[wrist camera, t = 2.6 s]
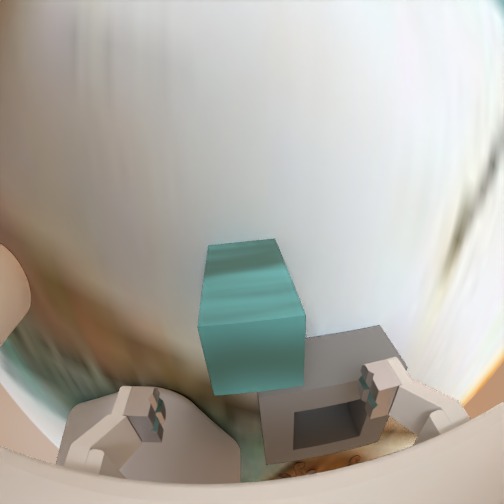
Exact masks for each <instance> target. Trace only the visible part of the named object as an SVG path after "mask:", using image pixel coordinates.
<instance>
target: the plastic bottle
mask: <svg viewBox="0 0 504 504" xmlns="http://www.w3.org/2000/svg"><path fill="white" fill-rule="evenodd" d="M138 387H153V386H138ZM157 388H158V390H159V392H160V396H159V398H160V399H162V400H163V402H164V404H165V408H166V419H165V422H164V423H163V424H162V427H163V429H164V432H163V438H162V443H158V442H142V444H141V445H140V447H139V448H138V449H137V450H136V451H135V452H134V454H133V455H132V456H131V457H130V458H129V459H128V460H127V462H126V463H125V464H124V465H123V466H122V467H121V468H120V470H119V471H120V472H121V473H122V474H123V475H124V476H125V477H126V479H131V480H139V481H149V482H161V483H179V484H227V483H241V450H240V448H239V445H238V444H237V442H236V441H235V440H234V439H233V438H232V437H230V436H229V435H228V434H227V433H226V432H224V431H223V430H222V429H221V428H220V427H219V426H218V425H216V424H215V423H214V422H213V421H212V420H211V419H210V418H208V417H207V416H206V415H205V414H204V413H203V412H202V411H201V410H200V409H199V408H198V407H196V406H195V405H194V404H193V403H192V402H191V401H190V400H188V399H187V398H185V397H184V396H182V395H180V394H178V393H176V392H173V391H171V390H168V389H164V388H160V387H157ZM117 395H118V392H117V393H113V394H110V395H107V396H103V397H100V398H97V399H93V400H90V401H86V402H83V403H80V404H77V405H76V406H75V407H73V409H72V410H71V411H70V413H69V416H68V420H67V423H66V427H65V430H64V434H63V437H62V441H61V445H60V449H59V453H58V457H57V461H56V465H59V466H64V463H65V460H66V458H67V455H68V452H69V449H70V446H71V444H72V443H73V442H74V441H76V440H77V439H78V438H79V437H81V436H82V435H83V434H85V433H86V432H87V431H88V430H89V429H91V428H92V427H93V426H94V425H96V424H97V423H98V422H99V421H101V420H102V419H103V418H104V417H106V416H107V415H111V413H112V410H113V407H114V404H115V401H116V398H117Z"/></svg>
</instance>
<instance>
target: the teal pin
mask: <svg viewBox="0 0 504 504" xmlns="http://www.w3.org/2000/svg"><path fill="white" fill-rule="evenodd" d="M305 327H306V314H305V312H304V309H303V307H302V304H301V302H300V299H299V297H298V294H297V292H296V289H295V287H294V284H293V282H292V279H291V277H290V274H289V272H288V270H287V267H286V265H285V262H284V260H283V257H282V255H281V252H280V250H279V248H278V245H277V243H276V240H275V239H267V240H257V241H247V242H238V243H228V244H219V245H209V246H208V252H207V259H206V266H205V273H204V280H203V288H202V295H201V303H200V311H199V319H198V331H199V335H200V340H201V344H202V348H203V352H204V357H205V361H206V365H207V369H208V373H209V377H210V381H211V384H212V388H213V392H214V396H215V395H229V394H241V393H251V392H260V391H269V390H276V389H284V388H291V387H297V386H303V383H304V360H305Z"/></svg>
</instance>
